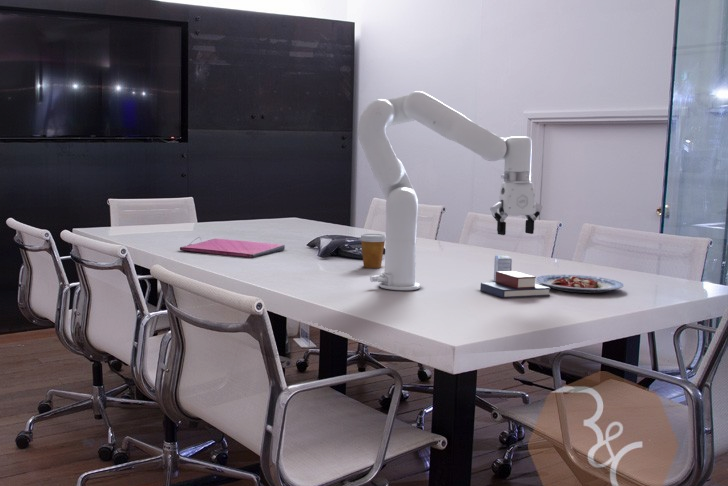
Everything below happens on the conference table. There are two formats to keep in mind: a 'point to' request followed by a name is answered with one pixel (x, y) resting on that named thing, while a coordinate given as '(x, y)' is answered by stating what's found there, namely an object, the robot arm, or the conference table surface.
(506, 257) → the medicine box
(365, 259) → the disposable coffee cup
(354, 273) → the conference table surface
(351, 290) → the conference table surface
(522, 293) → the hardback
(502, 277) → the paperback
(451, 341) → the conference table surface
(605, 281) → the ceramic plate
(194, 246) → the laptop bag
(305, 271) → the conference table surface
